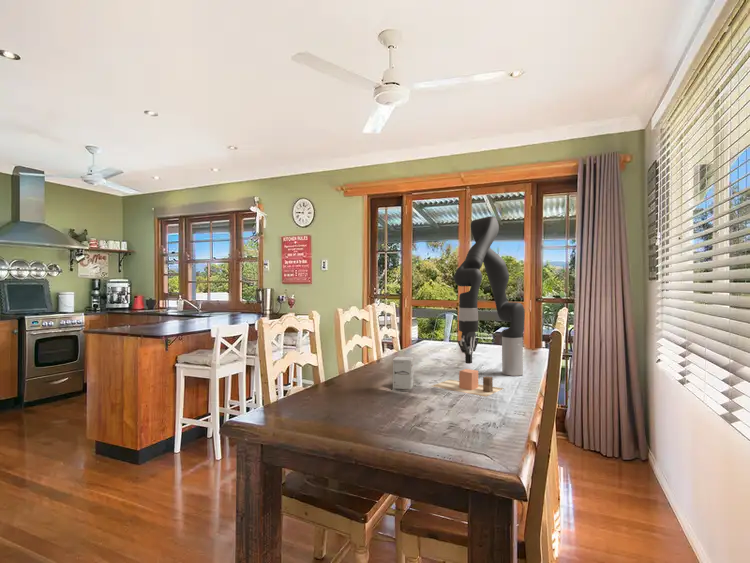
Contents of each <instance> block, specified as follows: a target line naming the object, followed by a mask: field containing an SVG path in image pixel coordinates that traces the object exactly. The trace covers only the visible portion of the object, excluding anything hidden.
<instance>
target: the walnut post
mask: <svg viewBox="0 0 750 563" xmlns="http://www.w3.org/2000/svg"><path fill="white" fill-rule="evenodd" d="M493 380H494V379H493V377H492V376H484V377H482V385H483V391H485V392H492V391H493V387H494V386H493V385H494V384H493Z"/></svg>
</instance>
